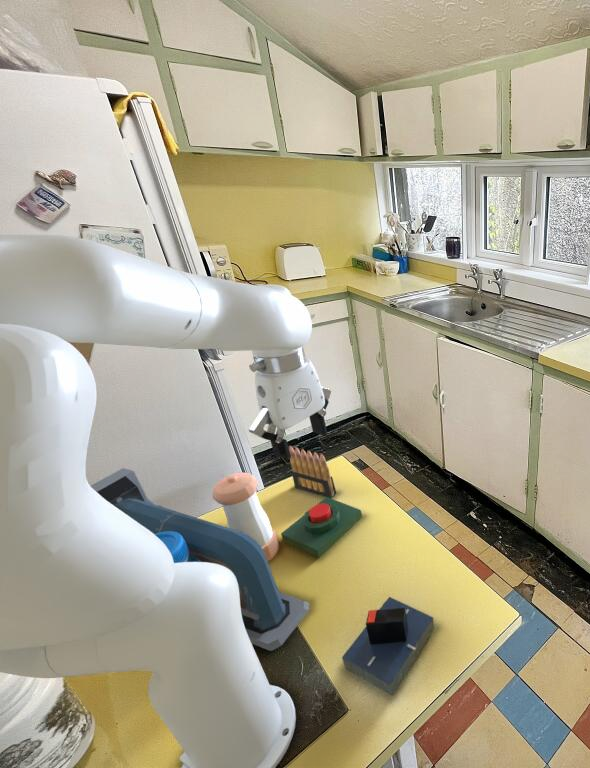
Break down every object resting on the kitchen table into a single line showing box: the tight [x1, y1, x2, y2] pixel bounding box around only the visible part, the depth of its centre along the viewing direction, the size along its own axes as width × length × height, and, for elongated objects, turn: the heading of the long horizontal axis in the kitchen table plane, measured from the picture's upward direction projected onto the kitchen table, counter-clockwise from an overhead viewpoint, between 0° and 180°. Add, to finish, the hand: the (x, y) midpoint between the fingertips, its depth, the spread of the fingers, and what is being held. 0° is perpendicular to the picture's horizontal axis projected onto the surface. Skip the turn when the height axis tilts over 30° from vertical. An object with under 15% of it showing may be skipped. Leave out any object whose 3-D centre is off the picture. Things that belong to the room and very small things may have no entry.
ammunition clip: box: [288, 445, 337, 499], centre depth 95 cm, size 11×2×12 cm, turn 71°
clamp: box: [90, 467, 311, 652], centre depth 68 cm, size 35×9×21 cm, turn 73°
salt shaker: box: [211, 472, 280, 562], centre depth 78 cm, size 7×7×19 cm
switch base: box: [341, 596, 435, 696], centre depth 65 cm, size 11×10×3 cm
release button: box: [309, 503, 331, 523], centre depth 86 cm, size 4×4×2 cm
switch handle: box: [365, 608, 408, 645], centre depth 63 cm, size 6×2×5 cm, turn 96°
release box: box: [280, 497, 363, 559], centre depth 87 cm, size 12×10×4 cm
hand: (302, 444), depth 78 cm, fingers open, 7 cm apart
